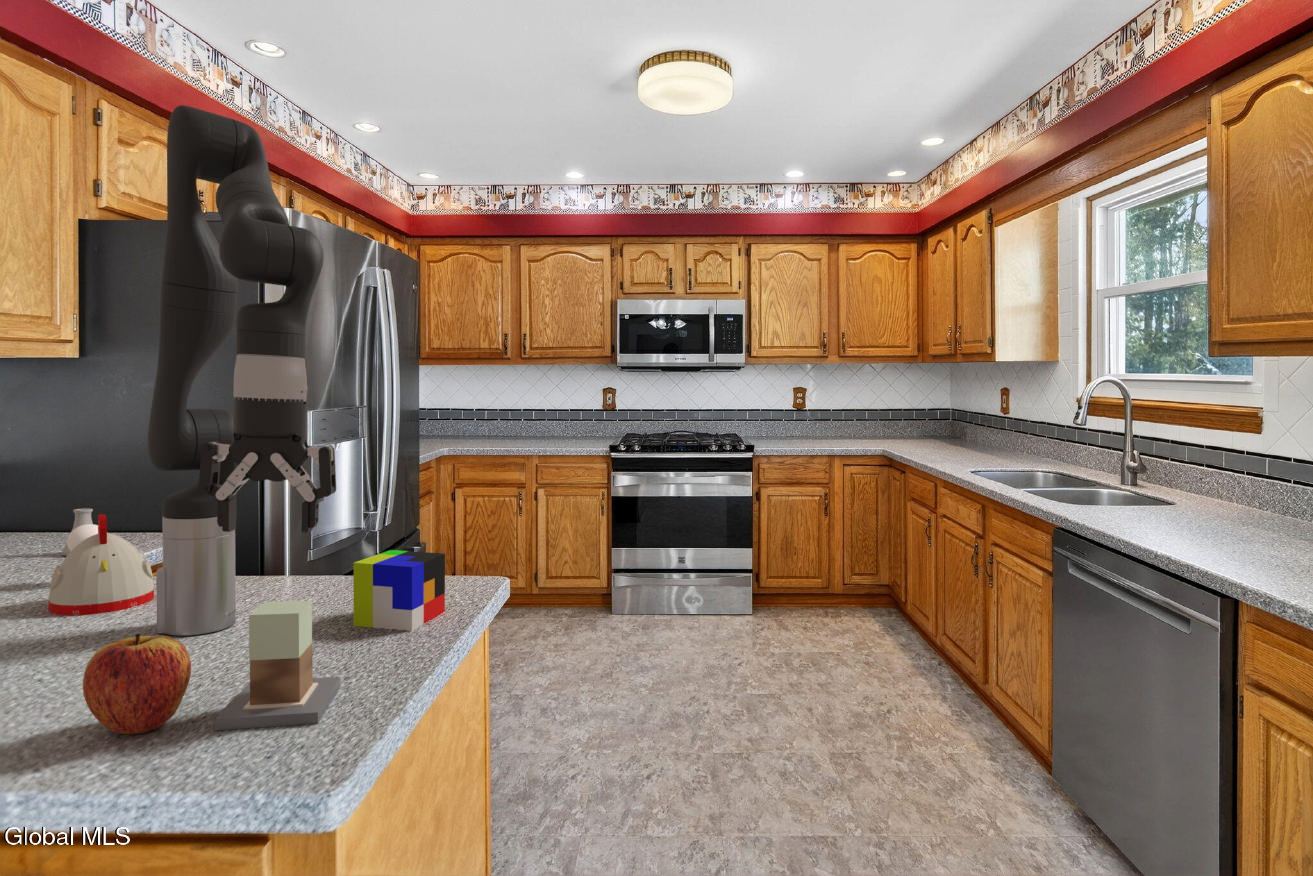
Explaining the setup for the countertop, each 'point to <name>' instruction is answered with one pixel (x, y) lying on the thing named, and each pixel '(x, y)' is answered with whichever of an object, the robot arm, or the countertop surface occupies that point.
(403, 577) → the puzzle toy
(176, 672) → the apple
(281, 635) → the sage block
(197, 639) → the countertop surface
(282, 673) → the walnut block
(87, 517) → the flask
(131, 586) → the kitchen timer
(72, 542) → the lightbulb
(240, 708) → the build board
